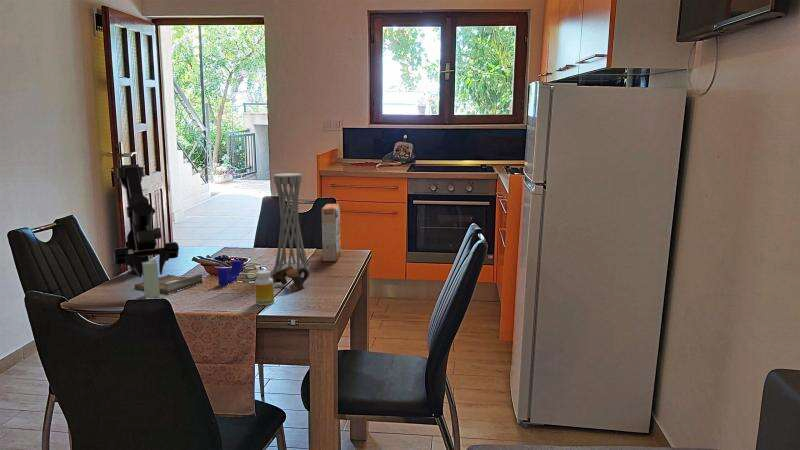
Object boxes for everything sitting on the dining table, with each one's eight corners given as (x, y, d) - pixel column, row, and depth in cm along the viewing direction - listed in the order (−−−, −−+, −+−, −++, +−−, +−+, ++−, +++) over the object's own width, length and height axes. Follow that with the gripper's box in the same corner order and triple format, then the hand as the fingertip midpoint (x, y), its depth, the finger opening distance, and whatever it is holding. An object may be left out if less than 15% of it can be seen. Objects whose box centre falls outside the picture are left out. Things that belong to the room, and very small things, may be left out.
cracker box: (337, 262, 229) (336, 208, 225) (322, 262, 229) (320, 208, 225) (341, 253, 242) (340, 203, 239) (327, 253, 242) (325, 203, 239)
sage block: (144, 295, 187) (141, 261, 185) (158, 293, 189) (155, 260, 187) (146, 299, 184) (143, 264, 182) (159, 297, 186) (157, 262, 184)
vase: (299, 275, 209) (294, 176, 203) (266, 272, 214) (260, 175, 207) (316, 266, 222) (313, 173, 216) (285, 264, 226) (280, 172, 220)
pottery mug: (285, 295, 187) (273, 272, 188) (277, 301, 195) (266, 279, 196) (317, 280, 193) (306, 257, 194) (309, 286, 201) (298, 264, 202)
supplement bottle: (275, 304, 176) (273, 273, 175) (256, 306, 175) (255, 274, 173) (272, 299, 182) (271, 268, 180) (254, 301, 180) (253, 270, 178)
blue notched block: (231, 276, 210) (230, 260, 209) (242, 277, 209) (242, 260, 208) (214, 286, 198) (213, 268, 197) (227, 286, 197) (226, 269, 196)
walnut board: (135, 288, 196) (134, 278, 195) (169, 278, 208) (168, 269, 207) (169, 294, 189) (168, 284, 188) (202, 283, 201) (201, 274, 200)
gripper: (111, 222, 181) (117, 265, 174) (175, 217, 190) (184, 257, 183) (111, 243, 189) (117, 285, 182) (173, 237, 198) (181, 276, 191)
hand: (150, 275), depth 184 cm, fingers open, 6 cm apart
